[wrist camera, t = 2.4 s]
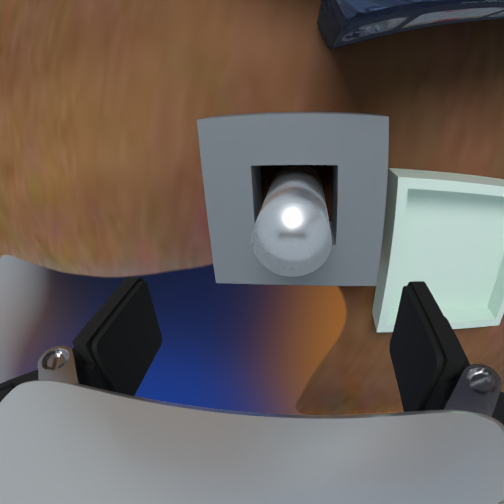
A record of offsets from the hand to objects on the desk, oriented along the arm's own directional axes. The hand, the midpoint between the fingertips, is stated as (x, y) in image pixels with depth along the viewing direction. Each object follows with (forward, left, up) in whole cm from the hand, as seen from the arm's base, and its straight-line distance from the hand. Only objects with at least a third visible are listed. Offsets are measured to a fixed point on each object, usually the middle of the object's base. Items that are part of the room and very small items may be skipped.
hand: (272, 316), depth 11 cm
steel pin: (0, 0, -16) cm, 16 cm away
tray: (-14, +5, -16) cm, 22 cm away
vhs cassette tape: (-11, -15, -16) cm, 25 cm away
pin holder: (0, 0, -16) cm, 16 cm away
